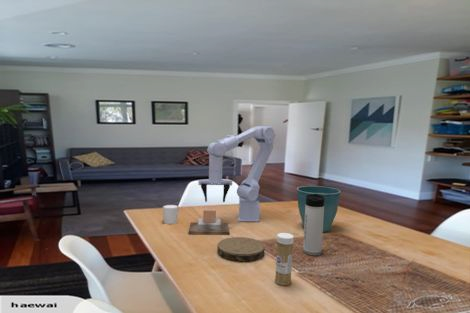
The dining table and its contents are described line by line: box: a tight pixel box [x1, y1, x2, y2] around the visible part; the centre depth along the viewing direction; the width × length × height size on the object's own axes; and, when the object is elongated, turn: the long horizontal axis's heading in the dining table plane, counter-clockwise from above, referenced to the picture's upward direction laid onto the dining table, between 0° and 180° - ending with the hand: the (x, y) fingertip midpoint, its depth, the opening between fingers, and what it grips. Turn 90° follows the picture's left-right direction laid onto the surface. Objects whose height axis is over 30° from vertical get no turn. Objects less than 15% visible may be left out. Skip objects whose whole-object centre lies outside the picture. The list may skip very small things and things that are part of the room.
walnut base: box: [188, 217, 230, 236], centre depth 133 cm, size 16×12×4 cm
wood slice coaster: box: [216, 236, 265, 263], centre depth 110 cm, size 16×16×3 cm
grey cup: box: [162, 204, 179, 225], centre depth 142 cm, size 7×7×7 cm
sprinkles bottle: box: [274, 232, 295, 286], centre depth 90 cm, size 5×5×13 cm
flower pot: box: [296, 185, 341, 233], centre depth 140 cm, size 18×18×17 cm
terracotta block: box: [202, 206, 217, 223], centre depth 133 cm, size 5×5×5 cm
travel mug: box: [302, 194, 325, 256], centre depth 112 cm, size 6×7×20 cm
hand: (214, 201), depth 141 cm, fingers open, 7 cm apart
